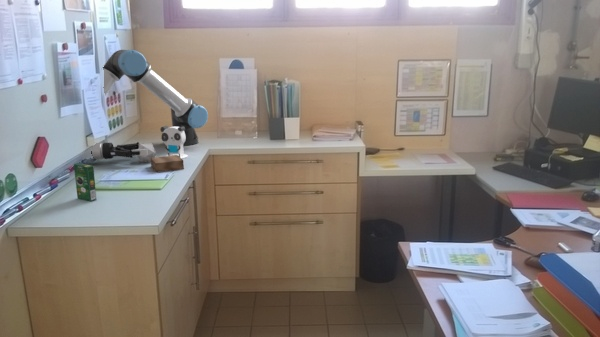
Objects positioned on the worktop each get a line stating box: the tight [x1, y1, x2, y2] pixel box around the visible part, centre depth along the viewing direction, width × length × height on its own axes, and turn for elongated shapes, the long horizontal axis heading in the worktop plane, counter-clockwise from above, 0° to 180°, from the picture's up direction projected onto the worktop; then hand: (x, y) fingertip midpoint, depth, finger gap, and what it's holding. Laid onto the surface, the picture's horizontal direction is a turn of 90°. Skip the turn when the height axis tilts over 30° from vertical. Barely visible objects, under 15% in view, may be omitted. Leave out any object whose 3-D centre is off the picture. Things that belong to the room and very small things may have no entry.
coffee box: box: [73, 162, 97, 202], centre depth 196 cm, size 8×3×13 cm, turn 57°
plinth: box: [150, 155, 185, 173], centre depth 241 cm, size 12×12×4 cm
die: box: [137, 143, 158, 163], centre depth 253 cm, size 8×9×10 cm
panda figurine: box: [160, 125, 189, 160], centre depth 261 cm, size 12×11×15 cm
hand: (150, 149), depth 253 cm, fingers open, 13 cm apart
